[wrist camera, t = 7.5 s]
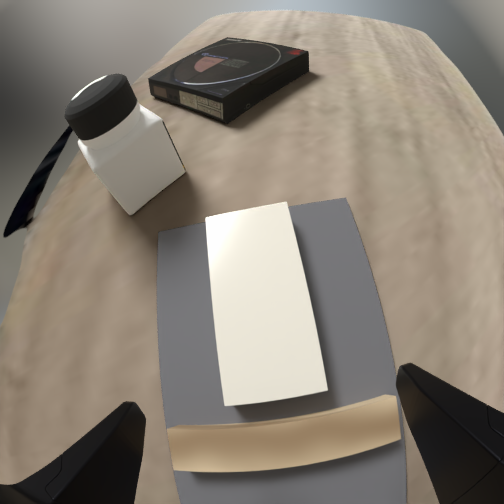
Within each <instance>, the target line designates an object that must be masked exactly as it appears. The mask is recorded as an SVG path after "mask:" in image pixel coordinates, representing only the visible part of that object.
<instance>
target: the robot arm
mask: <svg viewBox="0 0 504 504" xmlns="http://www.w3.org/2000/svg"><path fill="white" fill-rule="evenodd" d="M396 389H397V392H398V395H399V398H400V401H401V404H402V407H403V411H404V414H405V417H406V420H407V423H408V426H409V428H410V430H411V433H412V435H413V437H414V440H415V442H416V444H417V447H418V449H419V451H420V454H421V456H422V459H423V461H424V464H425V466H426V469H427V471H428V474H429V476H430V479H431V481H432V484H433V487H434V489H435V492H436V495H437V498H438V501H439V503H440V504H504V413H503V412H500V411H498V410H496V409H494V408H493V407H491V406H489V405H487V404H485V403H483V402H481V401H479V400H478V399H476V398H474V397H472V396H470V395H468V394H467V393H465V392H463V391H461V390H459V389H457V388H456V387H454V386H452V385H450V384H448V383H447V382H445V381H443V380H441V379H439V378H438V377H436V376H434V375H432V374H430V373H429V372H427V371H425V370H423V369H421V368H420V367H418V366H416V365H414V364H412V363H407V364H404V365H401V366H400V367H399V369H398V374H397V379H396ZM145 426H146V418H145V415H144V414H143V412H142V411H141V409H140V408H139V406H138V405H137V404H136V403H135V402H128V401H126V402H123V403H122V404H121V405H120V406H119V407H118V408H116V409H115V410H114V411H113V412H112V413H110V414H109V415H108V416H107V417H106V418H105V419H103V420H102V421H101V422H100V423H99V424H97V425H96V426H95V427H94V428H93V429H92V430H90V431H89V432H88V433H87V434H86V435H84V436H83V437H82V438H81V439H79V440H78V441H77V442H76V443H75V444H73V445H72V446H71V447H70V448H68V449H67V450H66V451H65V452H64V453H63V454H61V455H60V456H59V457H57V458H56V459H55V460H53V461H52V462H51V463H49V464H48V465H47V466H45V467H44V468H42V469H41V470H39V471H38V472H36V473H34V474H33V475H31V476H29V477H28V478H26V479H24V480H23V481H21V482H19V483H16V484H12V485H3V484H0V504H134V501H135V495H136V489H137V483H138V478H139V472H140V467H141V462H142V456H143V448H144V436H145Z"/></svg>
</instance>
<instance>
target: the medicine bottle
mask: <svg viewBox="0 0 504 504" xmlns="http://www.w3.org/2000/svg"><path fill="white" fill-rule="evenodd" d="M65 119H66V120H67V122H68V123H69V125H70V126H71V128H72V129H73V130H74V132H75V133H76V135H77V136H78V138H79V139H80V140H79V141H78V145H79V147H80V149H81V151H82V153H83V155H84V156H85V158H86V160H87V162H88V164H89V165H90V167H91V169H92V171H93V172H94V173H95V175H96V176H97V177H98V178H99V180H100V181H101V182H102V183H103V185H104V186H105V187H106V188H107V190H108V191H109V192H110V193H111V194H112V196H113V197H114V198H115V199H116V200H117V202H118V203H119V204H120V205H121V206H122V208H123V209H124V210H125V211H126V212H127V213H128V214H129V215H133V214H134V213H135V212H136V211H138V210H139V209H140V208H141V207H142V206H144V205H145V204H146V203H147V202H148V201H150V200H151V199H152V198H153V197H155V196H156V195H157V194H158V193H159V192H161V191H162V190H163V189H165V188H166V187H167V186H168V185H170V184H171V183H172V182H174V181H175V180H176V179H177V178H179V177H180V176H181V175H183V174H184V173H185V171H186V170H185V167H184V165H183V163H182V161H181V159H180V157H179V155H178V152H177V150H176V148H175V146H174V144H173V142H172V139H171V137H170V135H169V133H168V131H167V128H166V126H165V124H164V122H163V120H162V118H160V117H159V116H157V115H156V114H154V113H153V112H151V111H149V110H148V109H146V108H145V107H143V106H141V105H140V104H139V103H138V101H137V99H136V96H135V94H134V92H133V90H132V88H131V86H130V84H129V82H128V80H127V78H126V76H124V75H122V74H113V75H108V76H104V77H102V78H99V79H97V80H95V81H94V82H92V83H90V84H89V85H87V86H86V87H85V88H83V89H82V90H81V91H80V92H78V93H77V94H76V95H75V96H74V98H73V99H72V100H71V102H70V103H69V105H68V106H67V108H66V111H65Z"/></svg>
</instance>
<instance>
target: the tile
mask: <svg viewBox="0 0 504 504" xmlns="http://www.w3.org/2000/svg"><path fill="white" fill-rule="evenodd" d="M206 231H207V246H208V259H209V272H210V284H211V295H212V306H213V316H214V325H215V335H216V344H217V352H218V361H219V369H220V376H221V384H222V391H223V399H224V406H232V405H243V404H252V403H260V402H267V401H274V400H281V399H287V398H292V397H298V396H303V395H308V394H313V393H318V392H323V391H327V390H328V388H327V382H326V377H325V371H324V365H323V360H322V355H321V349H320V344H319V339H318V334H317V329H316V324H315V319H314V315H313V310H312V305H311V301H310V296H309V291H308V287H307V283H306V278H305V274H304V269H303V265H302V261H301V257H300V253H299V248H298V244H297V240H296V236H295V232H294V228H293V224H292V220H291V217H290V213H289V209H288V205H287V202H282V203H276V204H271V205H265V206H260V207H255V208H250V209H245V210H240V211H235V212H230V213H225V214H221V215H216V216H211V217H206Z"/></svg>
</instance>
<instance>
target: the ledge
mask: <svg viewBox="0 0 504 504" xmlns="http://www.w3.org/2000/svg"><path fill="white" fill-rule="evenodd" d="M167 434H168V441H169V447H170V453H171V459H172V464H173V469H174V470H178V471H193V472H245V471H260V470H271V469H280V468H288V467H295V466H302V465H307V464H313V463H318V462H323V461H328V460H333V459H337V458H341V457H345V456H349V455H353V454H356V453H360V452H363V451H367V450H370V449H373V448H377V447H380V446H383V445H386V444H388V443H391V442H394V441H397V440H399V439H401V433H400V423H399V414H398V407H397V399H396V396H393V395H382V396H379V397H376V398H373V399H369V400H366V401H362V402H359V403H355V404H351V405H347V406H343V407H339V408H335V409H331V410H326V411H321V412H317V413H311V414H306V415H301V416H295V417H289V418H282V419H275V420H267V421H258V422H248V423H235V424H218V425H177V426H174V427H171V428H168V429H167Z"/></svg>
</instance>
